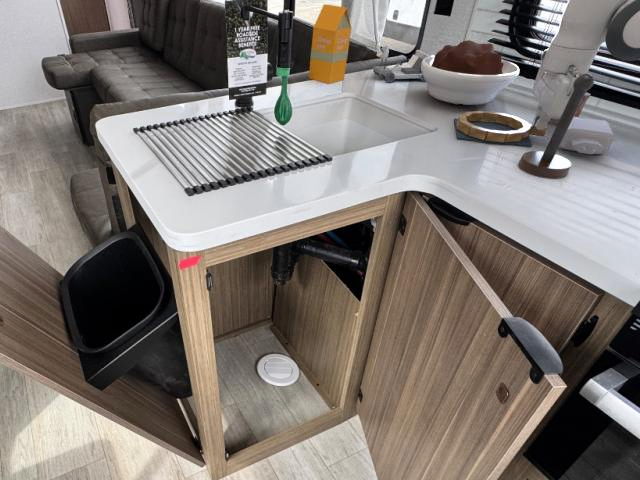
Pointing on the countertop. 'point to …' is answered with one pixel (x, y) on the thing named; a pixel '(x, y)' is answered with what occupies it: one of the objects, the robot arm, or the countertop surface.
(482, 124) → the mat
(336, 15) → the orange juice
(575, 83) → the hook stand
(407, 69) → the toy car
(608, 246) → the countertop surface
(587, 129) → the charger
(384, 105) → the countertop surface
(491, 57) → the white bowl of dough
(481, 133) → the ring
